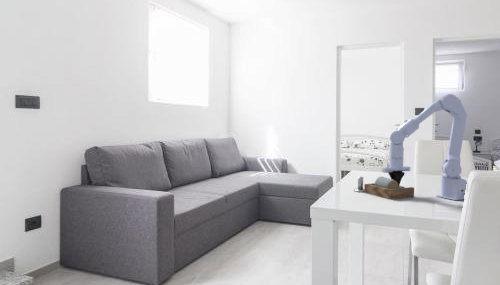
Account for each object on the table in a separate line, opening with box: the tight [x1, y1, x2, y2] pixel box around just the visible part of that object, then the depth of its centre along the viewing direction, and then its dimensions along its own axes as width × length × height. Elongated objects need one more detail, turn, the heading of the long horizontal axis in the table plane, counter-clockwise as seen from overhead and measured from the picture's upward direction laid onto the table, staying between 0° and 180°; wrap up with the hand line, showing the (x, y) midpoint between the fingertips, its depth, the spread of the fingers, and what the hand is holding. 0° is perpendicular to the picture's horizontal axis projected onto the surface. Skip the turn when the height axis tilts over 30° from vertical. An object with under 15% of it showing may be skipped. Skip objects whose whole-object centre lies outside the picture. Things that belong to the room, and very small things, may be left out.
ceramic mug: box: [374, 176, 400, 189], centre depth 164 cm, size 11×8×8 cm
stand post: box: [353, 176, 364, 193], centre depth 172 cm, size 6×6×7 cm
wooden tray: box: [363, 182, 415, 200], centre depth 163 cm, size 16×14×4 cm
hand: (396, 187), depth 165 cm, fingers closed
